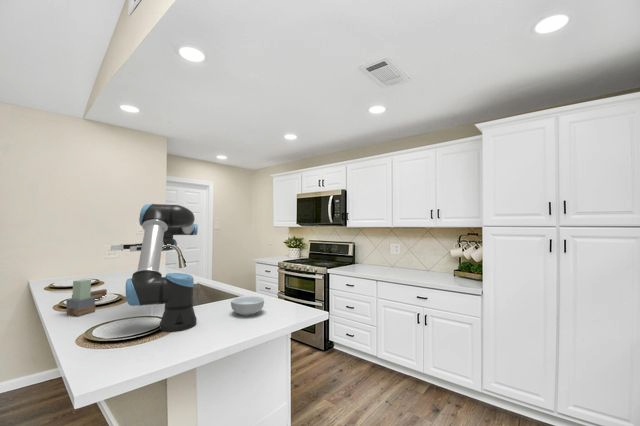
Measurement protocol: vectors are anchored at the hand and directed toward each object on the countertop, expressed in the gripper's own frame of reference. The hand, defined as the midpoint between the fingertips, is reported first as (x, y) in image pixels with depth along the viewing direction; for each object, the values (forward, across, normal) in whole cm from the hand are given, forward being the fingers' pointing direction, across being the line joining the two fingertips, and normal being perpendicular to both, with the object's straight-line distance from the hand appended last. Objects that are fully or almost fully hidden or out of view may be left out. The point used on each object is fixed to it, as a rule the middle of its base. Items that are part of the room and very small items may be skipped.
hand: (120, 248), depth 156 cm
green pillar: (+14, +8, -24) cm, 29 cm away
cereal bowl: (-15, -70, -32) cm, 79 cm away
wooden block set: (-6, +25, -33) cm, 42 cm away
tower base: (+13, +8, -32) cm, 36 cm away
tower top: (+13, +8, -28) cm, 32 cm away
